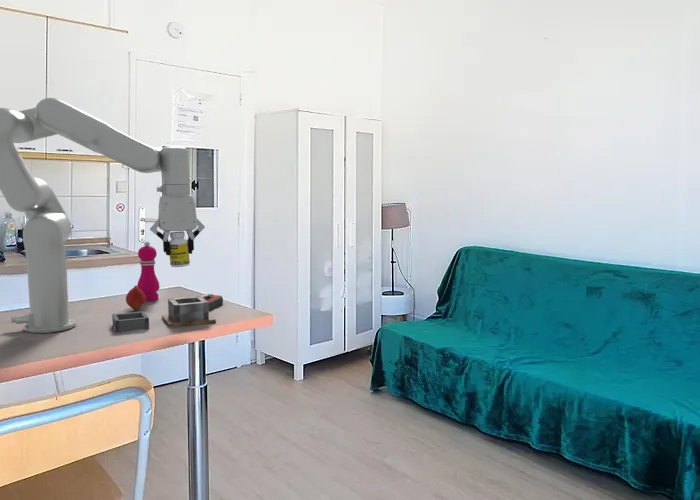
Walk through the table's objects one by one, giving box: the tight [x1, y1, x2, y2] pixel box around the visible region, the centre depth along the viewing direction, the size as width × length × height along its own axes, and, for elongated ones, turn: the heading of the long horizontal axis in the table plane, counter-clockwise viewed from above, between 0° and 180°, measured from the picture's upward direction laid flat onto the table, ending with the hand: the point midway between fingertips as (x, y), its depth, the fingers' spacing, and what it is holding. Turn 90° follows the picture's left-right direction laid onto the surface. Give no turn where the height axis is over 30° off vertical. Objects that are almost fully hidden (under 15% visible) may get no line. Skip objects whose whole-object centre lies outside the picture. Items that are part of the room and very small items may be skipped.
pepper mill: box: [137, 241, 160, 302], centre depth 195 cm, size 7×7×20 cm
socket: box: [161, 295, 217, 329], centre depth 168 cm, size 13×12×6 cm
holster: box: [111, 310, 150, 333], centre depth 161 cm, size 9×9×3 cm
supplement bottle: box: [168, 231, 191, 268], centre depth 164 cm, size 5×5×10 cm
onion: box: [125, 285, 146, 311], centre depth 180 cm, size 6×6×8 cm
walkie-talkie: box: [200, 293, 224, 311], centre depth 184 cm, size 9×4×20 cm
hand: (179, 253), depth 165 cm, fingers closed on supplement bottle, 5 cm apart
